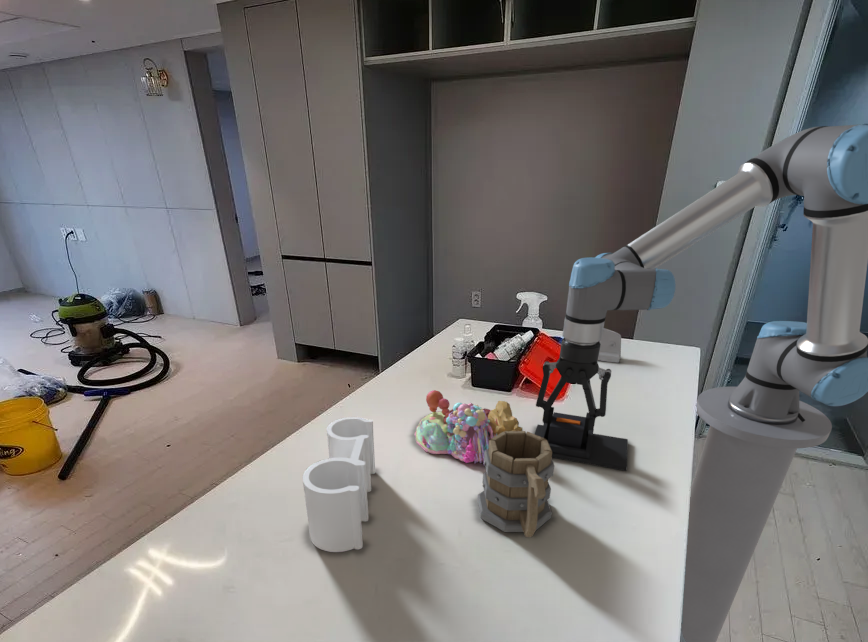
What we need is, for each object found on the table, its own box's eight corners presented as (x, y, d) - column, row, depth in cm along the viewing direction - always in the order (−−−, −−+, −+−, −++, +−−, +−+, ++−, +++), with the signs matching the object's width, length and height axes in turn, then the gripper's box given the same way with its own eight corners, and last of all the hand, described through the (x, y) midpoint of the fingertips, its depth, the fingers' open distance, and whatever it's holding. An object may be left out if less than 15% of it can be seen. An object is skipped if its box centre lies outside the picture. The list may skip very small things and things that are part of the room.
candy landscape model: (513, 412, 127) (516, 379, 123) (534, 464, 107) (539, 426, 102) (413, 414, 127) (413, 380, 122) (415, 467, 106) (415, 428, 102)
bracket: (333, 467, 106) (328, 416, 100) (379, 468, 106) (377, 417, 100) (303, 551, 84) (294, 492, 79) (361, 553, 84) (357, 494, 78)
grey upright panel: (563, 356, 160) (569, 324, 159) (564, 356, 165) (569, 324, 163) (620, 362, 155) (625, 329, 154) (619, 362, 160) (625, 330, 158)
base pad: (626, 442, 114) (629, 433, 113) (626, 471, 105) (628, 460, 103) (537, 427, 121) (538, 418, 119) (528, 453, 111) (529, 443, 109)
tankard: (475, 489, 99) (479, 422, 92) (539, 489, 99) (549, 421, 92) (488, 563, 82) (495, 487, 74) (567, 563, 82) (581, 487, 74)
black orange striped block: (583, 434, 114) (586, 415, 112) (580, 450, 109) (583, 430, 106) (551, 429, 117) (554, 410, 114) (547, 444, 111) (549, 425, 109)
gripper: (634, 339, 101) (613, 438, 113) (534, 328, 108) (523, 423, 119) (634, 352, 95) (612, 455, 106) (528, 339, 101) (517, 438, 113)
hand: (565, 438), depth 113 cm, fingers closed on black orange striped block, 7 cm apart
